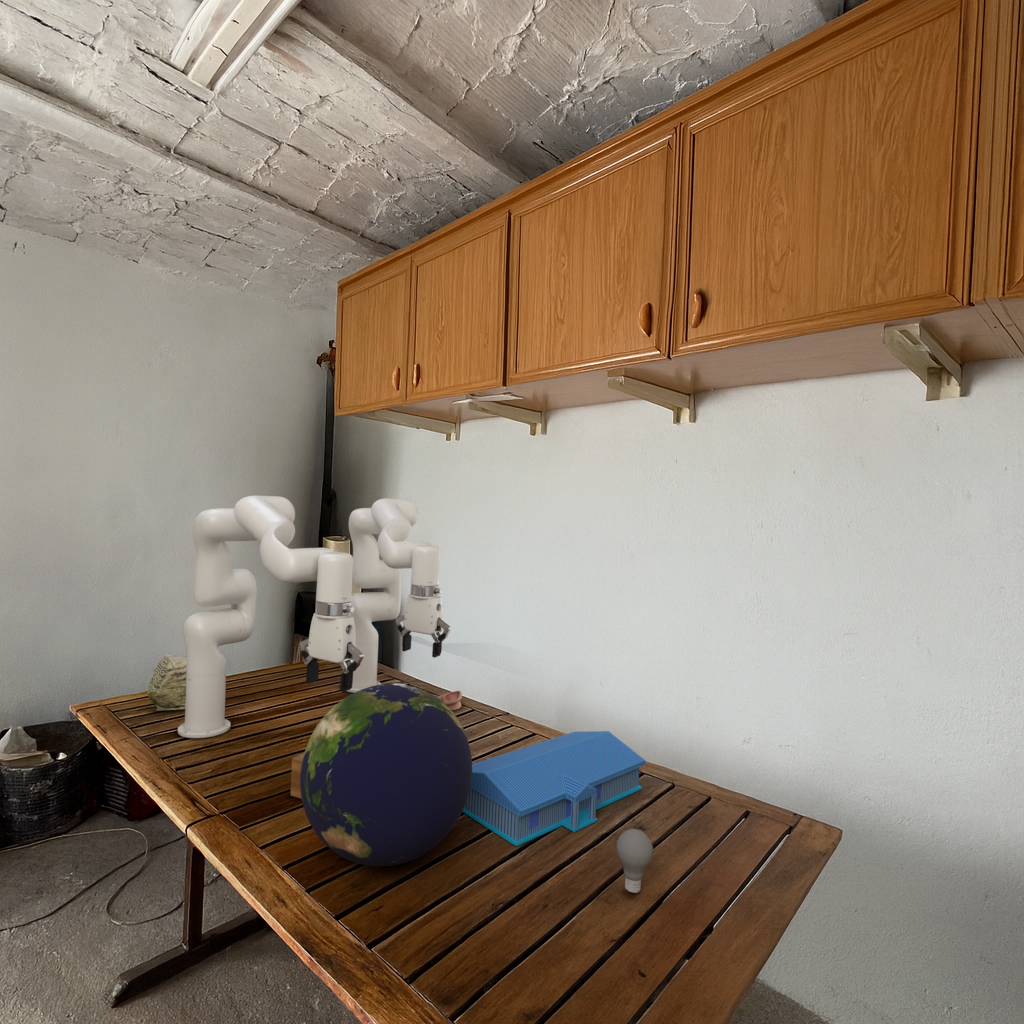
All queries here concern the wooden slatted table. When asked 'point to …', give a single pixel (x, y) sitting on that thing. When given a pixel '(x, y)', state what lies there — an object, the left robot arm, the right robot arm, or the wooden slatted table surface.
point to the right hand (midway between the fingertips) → (421, 653)
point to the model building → (552, 784)
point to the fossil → (169, 683)
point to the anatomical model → (452, 699)
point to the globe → (386, 775)
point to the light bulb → (634, 857)
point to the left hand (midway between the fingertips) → (328, 685)
